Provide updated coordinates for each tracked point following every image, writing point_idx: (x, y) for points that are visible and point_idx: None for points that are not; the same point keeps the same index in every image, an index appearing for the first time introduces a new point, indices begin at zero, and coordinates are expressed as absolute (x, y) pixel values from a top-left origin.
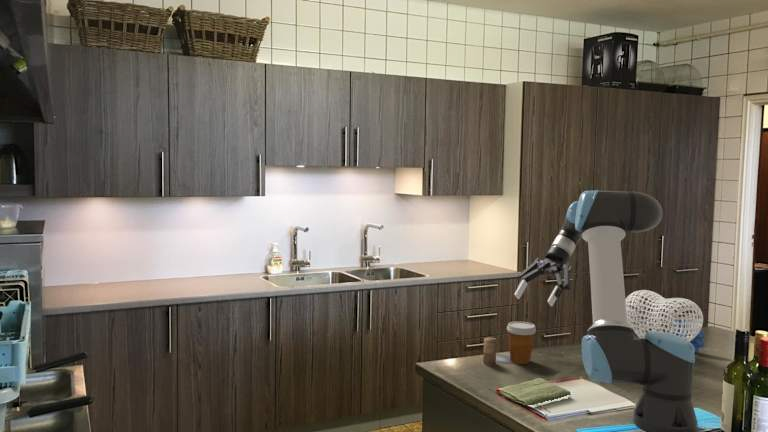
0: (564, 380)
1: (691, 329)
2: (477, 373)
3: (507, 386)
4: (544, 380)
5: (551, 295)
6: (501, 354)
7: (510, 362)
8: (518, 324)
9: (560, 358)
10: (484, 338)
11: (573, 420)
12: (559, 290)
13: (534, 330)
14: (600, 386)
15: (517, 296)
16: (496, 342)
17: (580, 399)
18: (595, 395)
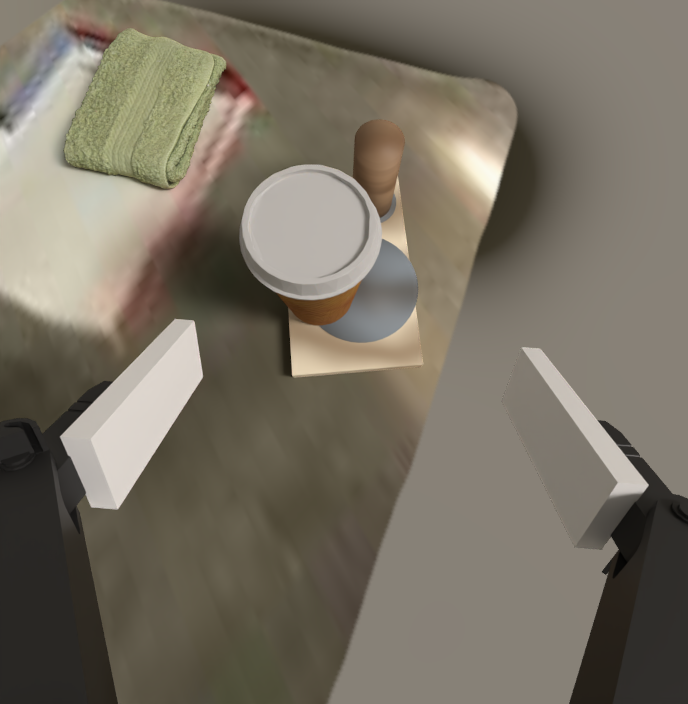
0: (144, 275)
1: None
2: None
3: (208, 69)
4: (145, 155)
5: (154, 352)
6: (406, 306)
7: None
8: (336, 236)
9: (259, 478)
10: (400, 130)
11: (17, 61)
12: (63, 423)
13: (242, 240)
14: (37, 308)
15: (512, 373)
16: (356, 155)
17: (49, 177)
18: (25, 231)
